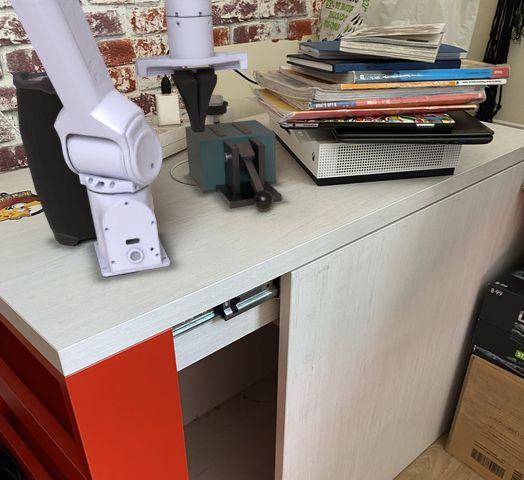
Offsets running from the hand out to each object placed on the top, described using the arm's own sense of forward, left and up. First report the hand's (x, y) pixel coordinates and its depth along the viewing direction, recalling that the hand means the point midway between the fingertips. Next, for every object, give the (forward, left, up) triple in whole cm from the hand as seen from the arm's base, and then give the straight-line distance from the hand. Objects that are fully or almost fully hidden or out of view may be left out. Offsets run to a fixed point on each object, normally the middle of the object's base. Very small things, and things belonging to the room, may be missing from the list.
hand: (197, 130), depth 74 cm
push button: (+23, -9, -11) cm, 27 cm away
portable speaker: (-5, +18, -11) cm, 21 cm away
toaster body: (+8, -7, -10) cm, 15 cm away
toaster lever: (-2, -7, -8) cm, 11 cm away
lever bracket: (+1, -7, -10) cm, 13 cm away
